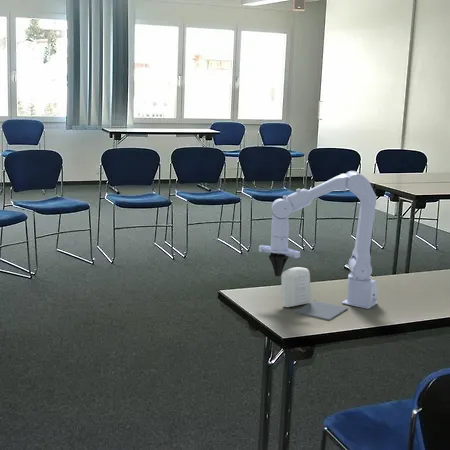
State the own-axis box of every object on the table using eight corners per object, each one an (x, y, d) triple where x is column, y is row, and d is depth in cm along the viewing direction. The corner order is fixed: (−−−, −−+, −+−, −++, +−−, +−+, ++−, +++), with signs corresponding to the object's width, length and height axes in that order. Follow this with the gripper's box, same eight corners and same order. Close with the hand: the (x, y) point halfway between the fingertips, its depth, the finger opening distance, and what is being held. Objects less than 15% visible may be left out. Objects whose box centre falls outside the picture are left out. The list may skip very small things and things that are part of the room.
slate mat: (347, 309, 220) (347, 307, 220) (329, 320, 208) (329, 319, 208) (314, 302, 226) (314, 300, 226) (294, 312, 215) (294, 311, 215)
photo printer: (304, 301, 227) (302, 264, 225) (313, 303, 223) (311, 266, 222) (280, 306, 221) (278, 268, 220) (288, 308, 217) (286, 270, 216)
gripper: (254, 234, 222) (253, 274, 225) (293, 240, 214) (291, 282, 217) (265, 231, 228) (264, 270, 231) (303, 237, 220) (301, 277, 223)
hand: (278, 275), depth 224 cm, fingers closed
